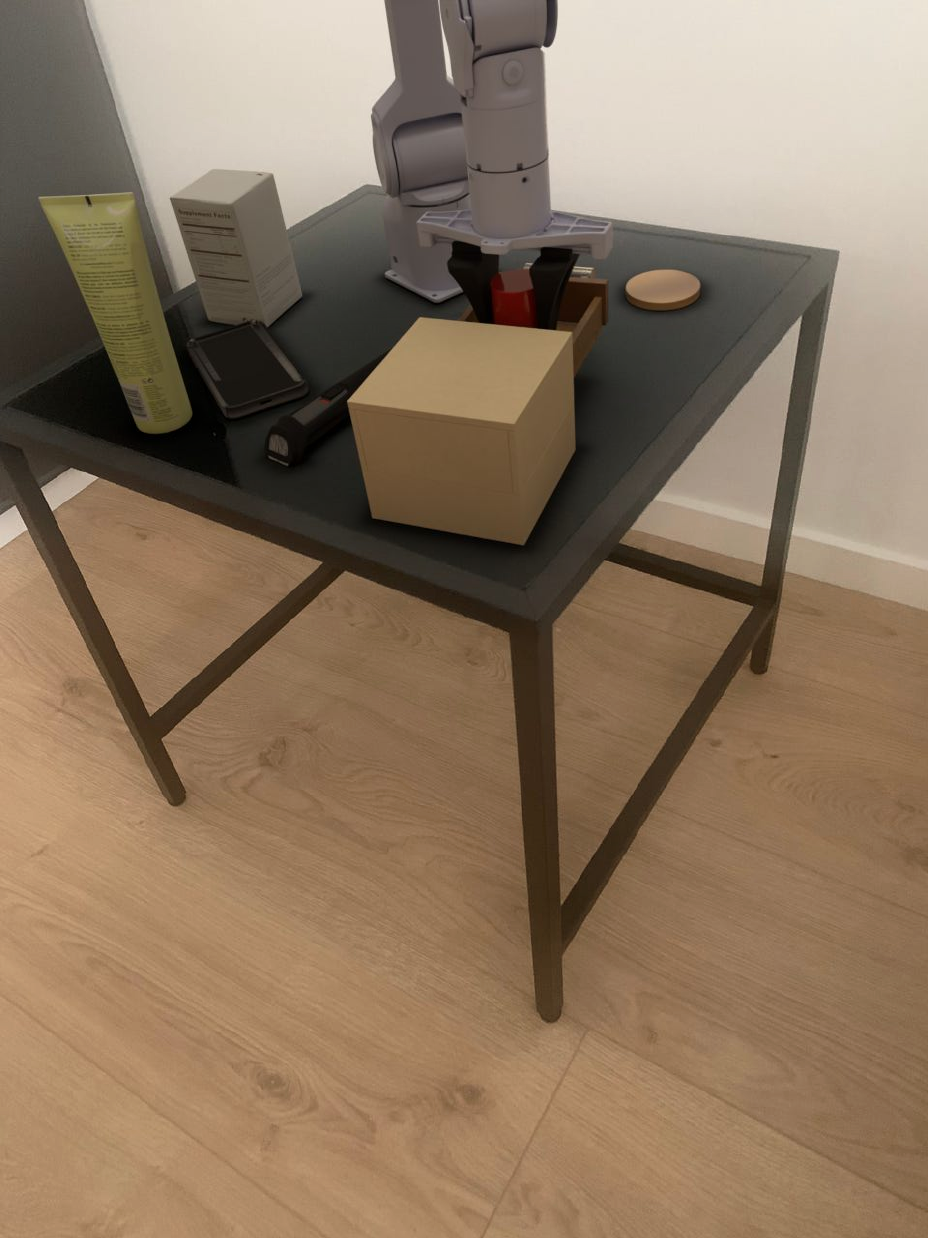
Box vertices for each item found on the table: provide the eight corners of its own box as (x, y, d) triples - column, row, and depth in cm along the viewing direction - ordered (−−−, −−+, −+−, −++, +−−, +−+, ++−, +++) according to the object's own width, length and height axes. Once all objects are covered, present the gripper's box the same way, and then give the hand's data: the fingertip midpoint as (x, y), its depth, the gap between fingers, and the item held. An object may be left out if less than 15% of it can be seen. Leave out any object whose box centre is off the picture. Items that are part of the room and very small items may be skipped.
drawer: (504, 292, 85) (500, 248, 82) (622, 302, 81) (623, 256, 78) (433, 383, 75) (426, 337, 72) (565, 400, 71) (563, 351, 68)
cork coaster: (610, 295, 92) (610, 287, 92) (661, 270, 95) (661, 262, 94) (663, 318, 88) (663, 310, 87) (715, 291, 91) (716, 283, 90)
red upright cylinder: (486, 353, 77) (479, 281, 72) (523, 334, 78) (519, 263, 74) (517, 370, 74) (512, 297, 70) (556, 351, 76) (553, 278, 72)
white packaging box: (246, 289, 102) (212, 166, 93) (304, 297, 99) (275, 170, 90) (205, 322, 97) (166, 195, 88) (265, 331, 94) (231, 201, 86)
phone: (259, 317, 94) (309, 382, 84) (262, 328, 95) (312, 393, 84) (182, 341, 92) (223, 410, 82) (186, 352, 93) (227, 422, 82)
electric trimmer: (419, 382, 85) (414, 349, 82) (294, 469, 76) (285, 435, 74) (388, 372, 87) (382, 339, 84) (263, 455, 78) (253, 422, 76)
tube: (186, 396, 87) (108, 174, 73) (209, 418, 84) (132, 190, 70) (128, 420, 85) (37, 196, 71) (149, 444, 82) (58, 214, 68)
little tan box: (435, 429, 78) (419, 316, 72) (575, 449, 74) (572, 331, 67) (372, 518, 71) (346, 401, 64) (524, 545, 67) (514, 423, 60)
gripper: (388, 175, 66) (416, 353, 75) (591, 184, 61) (593, 373, 70) (429, 139, 70) (450, 312, 80) (621, 144, 65) (619, 328, 75)
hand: (519, 338), depth 75 cm, fingers closed on red upright cylinder, 4 cm apart
